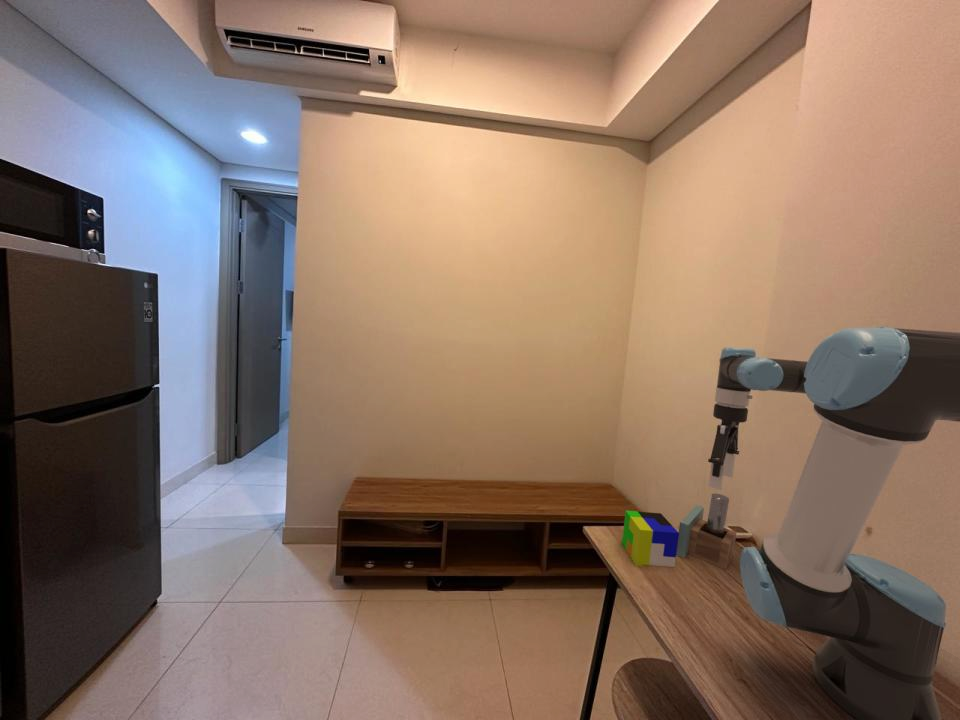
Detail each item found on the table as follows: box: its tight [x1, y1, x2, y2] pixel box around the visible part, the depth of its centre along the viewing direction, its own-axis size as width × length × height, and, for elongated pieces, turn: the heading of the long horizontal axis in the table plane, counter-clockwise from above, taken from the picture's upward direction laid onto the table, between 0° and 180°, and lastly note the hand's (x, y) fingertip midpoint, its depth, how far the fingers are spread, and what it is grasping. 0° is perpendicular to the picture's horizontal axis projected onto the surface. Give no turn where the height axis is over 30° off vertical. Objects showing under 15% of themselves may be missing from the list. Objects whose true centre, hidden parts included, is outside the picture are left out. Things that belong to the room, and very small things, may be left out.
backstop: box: [676, 504, 705, 559], centre depth 100 cm, size 16×19×10 cm
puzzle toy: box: [621, 510, 679, 568], centre depth 100 cm, size 10×10×10 cm
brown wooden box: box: [687, 519, 737, 571], centre depth 102 cm, size 9×9×7 cm
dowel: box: [706, 492, 730, 539], centre depth 101 cm, size 4×4×16 cm
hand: (720, 481), depth 100 cm, fingers open, 13 cm apart
